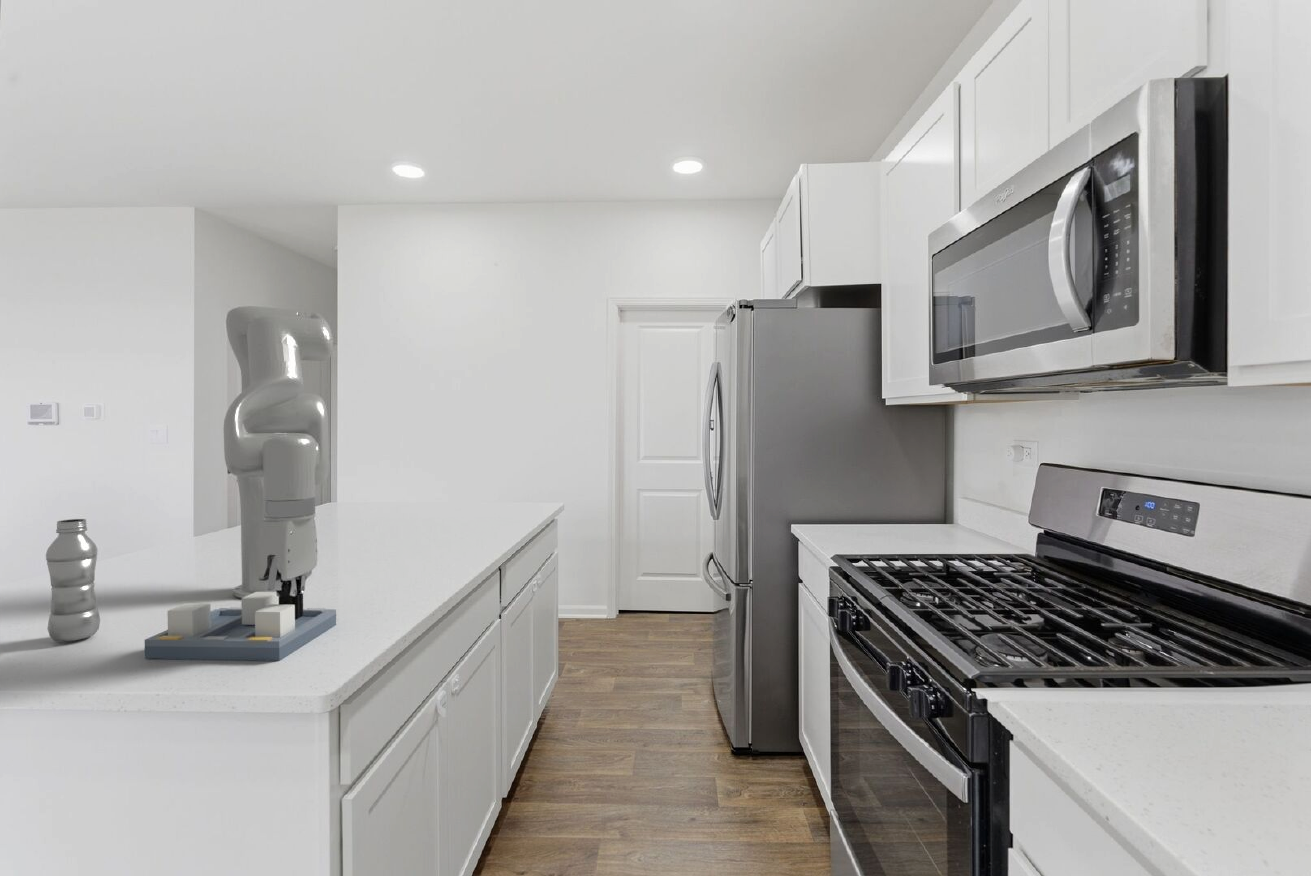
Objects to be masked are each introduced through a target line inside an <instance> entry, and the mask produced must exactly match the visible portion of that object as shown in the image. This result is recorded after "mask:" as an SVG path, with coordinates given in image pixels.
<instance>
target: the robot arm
mask: <svg viewBox="0 0 1311 876" xmlns="http://www.w3.org/2000/svg"><path fill="white" fill-rule="evenodd" d="M225 318H226V319H225V325H226V333H227V338H228V341H229V344H230V347H231V349H232V352H233V354H234V355H235V358H236V360H237V363H238V366H239V368H240V369H239V370H240V375H241V376H240V377H241V393H239V394H238V395H237V396H236V398H235V399H234V400H233V401H232V402H231V404H230V406H229V407H228V409H227V411H226V413H225V416H224V420H223V421H224V422H223V452H224V461H225V465H226V468H227V469H228V471H229V472H230V473H231V474H232V475H234V476H236V479H237V486H238V492H239V503H240V505H239V506H240V541H241V542H240V543H241V544H240V545H241V546H240V549H241V550H240V551H241V552H240V553H241V554H240V555H241V584H239V585H238V586H235V587H234V588H233V590H232V593H233V596H234V597H236V598H239V599H242V598H243V597H246V596H248V595H250V594H253V593H255V592H276V594H277V596H279V604H281V605H295V620H296V619H298V618H300V617H302V616H303V609H304V592H305V590H306V580H307V579H308V578H309V577H311V575H312V573H313V570H315V568H316V567H317V565H318V537H317V528H316V520H315V517H316V486H320V485H322V484H324V483H325V482H326V481H328V478H329V474H330V473H329V472H330V443H329V441H330V439H329V414H328V409H327V405H326V402H325V400H324V398H322V397H321V396H320V395H318V394H314V393H308V392H307V393H304V392H303V390H304V377H303V369H302V361H308V362H309V361H311V362H312V361H314V362H316V361H317V362H326V361H328V360H329V359H330V358H331V356H332V354H333V349H334V337H333V334H332V333H333V331H332V330H331V327H330V325H329V323H328V321H327V320H326V319H325V318H324V317H323V316H322V315H321V314H320V313H317V312H315V311H314V312H313V311H308V310H296V309H285V308H277V307H268V306H267V307H266V306H255V305H254V306H250V305H249V306H245V305H244V306H238V307H233V308H232V309H231V310H229V311H228V312H227V314H226V317H225ZM302 392H303V393H302ZM243 428H244V430H245V432H246V433H245V432H243Z"/></svg>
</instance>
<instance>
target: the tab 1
mask: <svg viewBox="0 0 1311 876" xmlns="http://www.w3.org/2000/svg"><path fill="white" fill-rule="evenodd" d="M210 611H211V603H195V602H194V603H193V602H191V603H184V604H181V605H179V606H176V607H174V608H171V609H169V610H167V630H168V636H184V637H194V636H196V635H198V634H201V633H203V632H205V631H207V630H209V629H211V612H210Z"/></svg>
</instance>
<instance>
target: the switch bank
mask: <svg viewBox="0 0 1311 876" xmlns="http://www.w3.org/2000/svg"><path fill="white" fill-rule="evenodd" d="M210 612H211V629H209V630H207V631H205V632H203V633H201V634H198V635H196V636H194V637H184V636H168V629H166V630H164V631H162V632H159V633H157V634H155V635H152V636H149V637H147V638H145V639H144V659H145V658H163V659H162V660H196V661H198V660H199V661H200V660H201V661H204V660H205V661H210V660H211V661H265V662H266V661H269V662H270V661H271V662H272V661H273V662H274V661H275V662H276V661H277V662H278V661H279V662H280V661H281V660H283V659H285V658H286V657H287V656H289V655H292V654H293V653H294V652H295V651H297V650H298V649H299V650H300V648H302V647H304V646H305V645H306V644H308V643H310V642H311V641H313V640H315V639H316V638H318V637H319V636H320V635H322V634H324V633H325V632H327V631H329V630H330V629H332V628H333V627H335V626H336V625H337V609H331V608H328V609H327V608H326V607H325V608H324V607H323V608H321V607H320V608H319V607H318V608H317V607H316V608H315V607H314V608H313V607H311V608H310V607H309V608H303V616H302V617H300V618H298V619H296V620H295V629H294V630H292V631H290V632H288V633H287V634H285V635H283V636H281V637H280V638H272V637H255V625H245V624H242V606H241V607H240V606H239V607H238V606H237V607H236V606H234V607H233V606H231V607H220V608H218V609H216V608H215V609H213V610H210Z"/></svg>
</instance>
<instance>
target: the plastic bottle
mask: <svg viewBox="0 0 1311 876" xmlns="http://www.w3.org/2000/svg"><path fill="white" fill-rule="evenodd" d="M86 531H88V527H87V519H86V518H72V519H70V518H69V519H63V520H58V521H57V522H56V530H55V533H56V534H58V535H57V537H56V538H55V539H54V540H53V541H52V542H51V544H50V545H49V547H48V548H47V550H46V553H45V559H46V566H47V568H48V573H49V578H50V580H49V581H50V586H51V601H50V602H51V604H50V614H49V617H48V623H47V632H48V635H49V637H50V638H51V639H52V640H53V641H55V642H73V641H78V640H79V641H80V640H82V639H85V638H86V639H87V638H90V637H92V636H94V635H96V633H97V632H98V631H99V629H100V626H101V625H100V624H101V617H100V612H99V608H98V606H97V599H96V593H95V575H96V574H95V573H96V572H95V571H96V566H97V558H98V547H97V545H96V544H95V542H94V541H93V540H92V539H91V538H90V537H89V536H88V535H87V534H86Z"/></svg>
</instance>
